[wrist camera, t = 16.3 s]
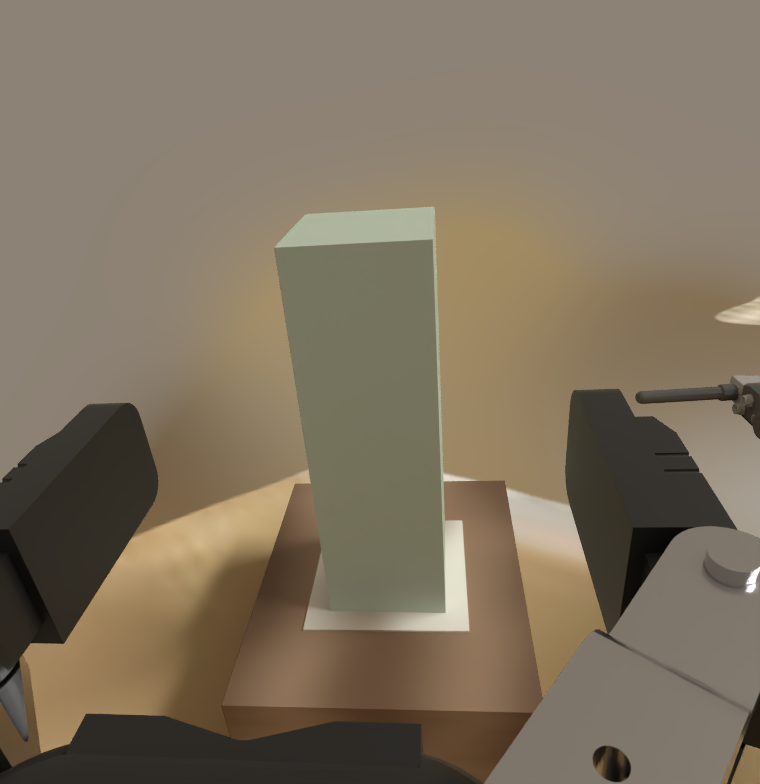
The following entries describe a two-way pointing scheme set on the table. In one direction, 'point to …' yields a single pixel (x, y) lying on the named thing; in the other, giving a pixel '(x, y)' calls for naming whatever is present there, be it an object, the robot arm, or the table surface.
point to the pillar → (370, 401)
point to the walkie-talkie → (717, 397)
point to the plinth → (395, 642)
